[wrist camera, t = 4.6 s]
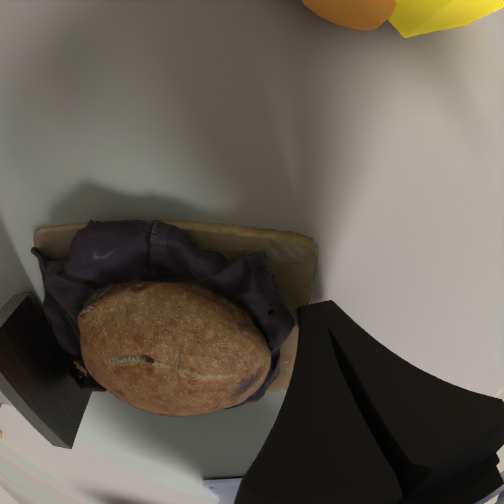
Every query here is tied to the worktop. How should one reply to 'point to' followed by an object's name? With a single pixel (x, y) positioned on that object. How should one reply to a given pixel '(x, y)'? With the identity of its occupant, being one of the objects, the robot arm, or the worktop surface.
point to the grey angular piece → (38, 373)
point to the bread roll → (176, 309)
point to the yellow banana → (403, 13)
